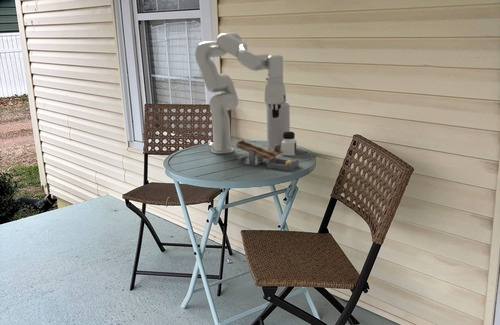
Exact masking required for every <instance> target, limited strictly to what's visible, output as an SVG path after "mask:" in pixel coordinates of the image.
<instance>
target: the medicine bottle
mask: <svg viewBox="0 0 500 325" xmlns="http://www.w3.org/2000/svg"><path fill="white" fill-rule="evenodd" d="M295 138H296V137H295V132H294V131H291V130H290V131H287V132H284V133H283V141H282V143H281V150H282V151H283V153H281V156H289V157H291V156H292V157H293V156H296V154H297V139H295Z"/></svg>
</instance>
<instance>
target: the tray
mask: <svg viewBox="0 0 500 325" xmlns="http://www.w3.org/2000/svg"><path fill="white" fill-rule="evenodd" d="M288 160H289V159H285V158H283V159H282V158H277V157H276V158H275V159H272V160H270V161H269V160H267V162H266V169H270V170H271V169H272V170H278V171H284V172H291V171H293V170H294V169H296V168H299V166H300V165H299V164H300V162H299V161H300V160H299V159H295V160H292V159H291V161H292V162H290V163H288V164H287V165H286V161H288Z"/></svg>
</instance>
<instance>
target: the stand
mask: <svg viewBox="0 0 500 325" xmlns="http://www.w3.org/2000/svg"><path fill="white" fill-rule="evenodd" d="M261 148H262V149H264V148H263V147H261ZM264 163H266V160H264V158H261V157H259V156H256V155H255V151H249V152H248V157H247V155H241V156H238V157H237V161H235V164H237V165H238V164H239V165H244V166H246V165H247V166H250V167H257V166H260V165H261V164H264Z"/></svg>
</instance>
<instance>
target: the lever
mask: <svg viewBox="0 0 500 325" xmlns="http://www.w3.org/2000/svg"><path fill="white" fill-rule="evenodd" d="M235 148H237V149H239V150H241V151H244V152H246V153H249V151H255V157H257V156H259V157H261V158H263V160H265V161H266V160H267V161H270V160H273V159H275V158H277V156H279V155H282V153H283V151H281V150H280V148H281V145H279V144H275V147H274V149H271V150H269V149H268V150H267V149H265V148H263V147H260V146H256V145H254V144H252V143H249V142H247V141H245V140H244V139H242V140H239V141H237V143H236V147H235ZM262 148H263V149H262Z"/></svg>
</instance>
